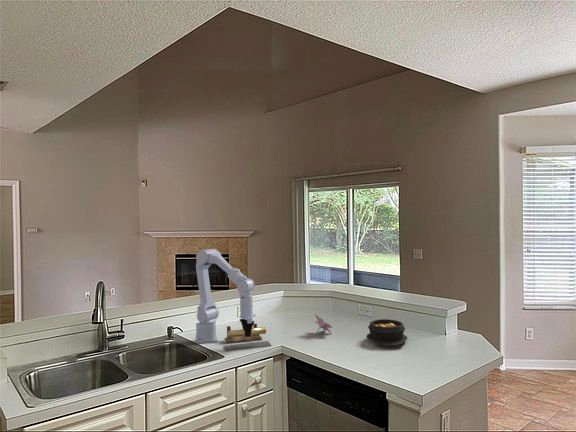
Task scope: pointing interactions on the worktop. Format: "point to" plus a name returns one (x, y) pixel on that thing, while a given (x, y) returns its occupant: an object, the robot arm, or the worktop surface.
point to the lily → (322, 324)
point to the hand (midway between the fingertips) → (247, 335)
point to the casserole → (387, 332)
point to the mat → (247, 346)
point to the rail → (242, 333)
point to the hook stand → (242, 337)
